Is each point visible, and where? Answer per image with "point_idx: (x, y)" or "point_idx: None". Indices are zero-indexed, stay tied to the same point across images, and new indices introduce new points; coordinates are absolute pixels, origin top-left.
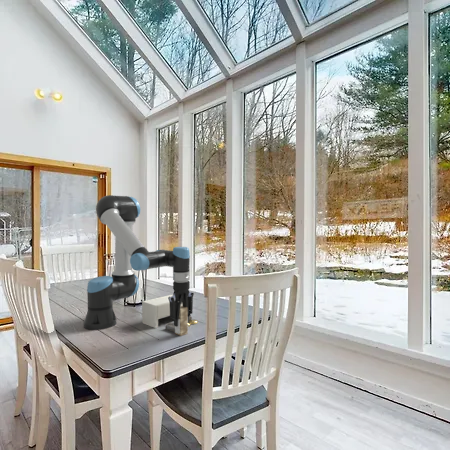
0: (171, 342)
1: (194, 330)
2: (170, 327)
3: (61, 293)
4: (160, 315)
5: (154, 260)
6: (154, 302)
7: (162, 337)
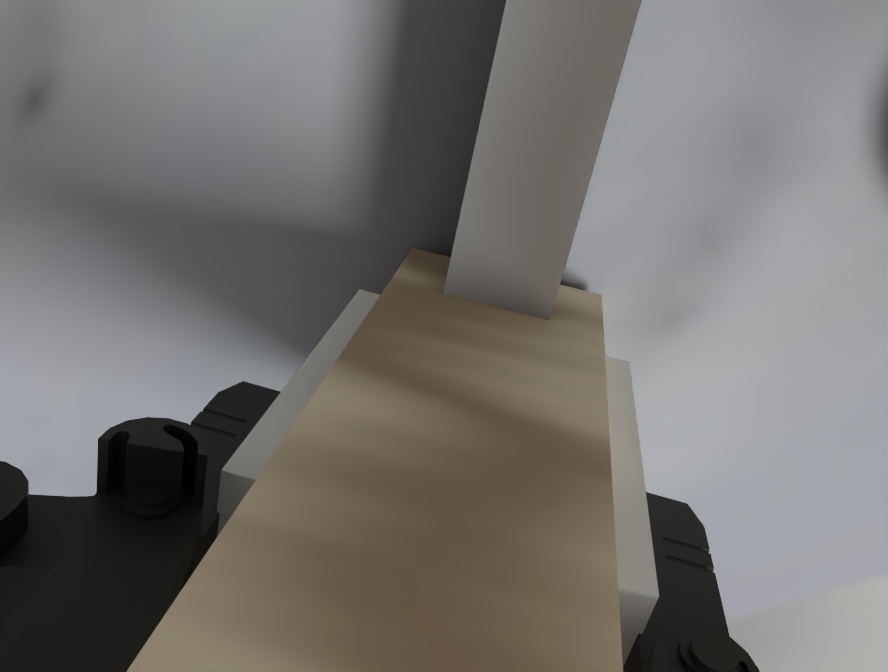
0: (93, 400)
1: (799, 476)
2: (499, 36)
3: None
4: None
5: None
6: None
7: (142, 109)
